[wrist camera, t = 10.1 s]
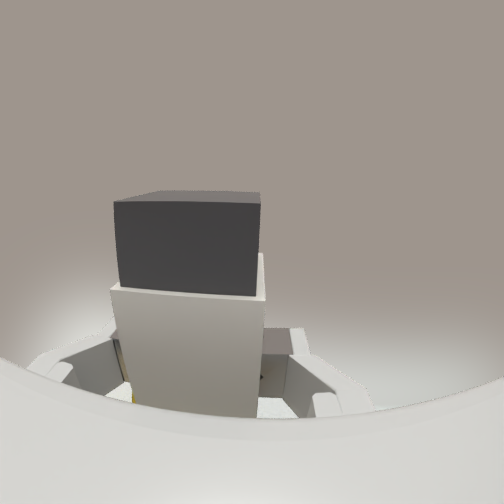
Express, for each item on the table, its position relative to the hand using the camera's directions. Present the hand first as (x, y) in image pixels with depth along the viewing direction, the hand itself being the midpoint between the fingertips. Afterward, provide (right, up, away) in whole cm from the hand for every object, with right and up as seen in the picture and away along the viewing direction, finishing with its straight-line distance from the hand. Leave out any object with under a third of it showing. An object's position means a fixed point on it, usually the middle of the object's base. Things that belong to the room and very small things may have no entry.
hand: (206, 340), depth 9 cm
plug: (0, -7, +1) cm, 7 cm away
